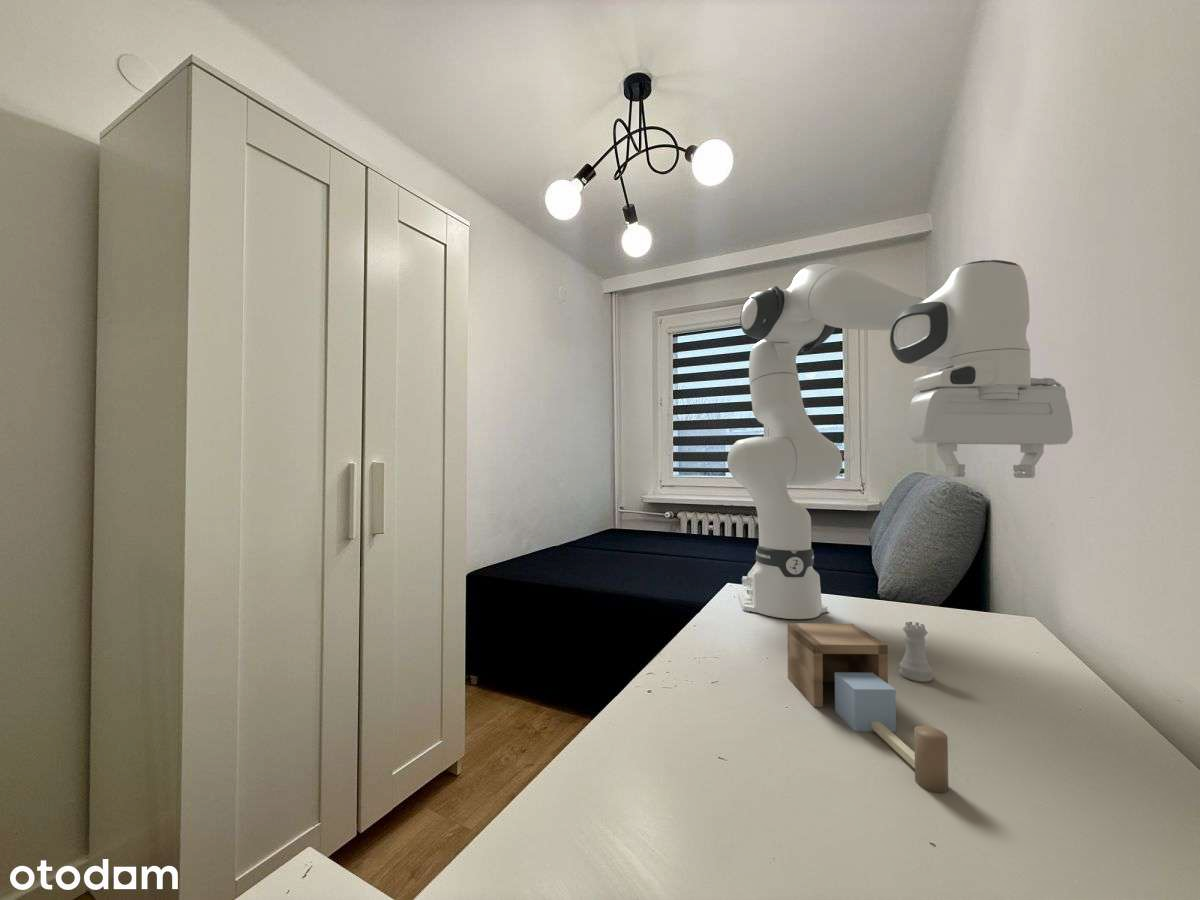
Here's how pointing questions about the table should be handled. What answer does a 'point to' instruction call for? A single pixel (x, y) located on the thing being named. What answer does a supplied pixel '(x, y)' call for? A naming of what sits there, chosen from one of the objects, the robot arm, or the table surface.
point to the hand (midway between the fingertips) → (989, 477)
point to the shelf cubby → (831, 655)
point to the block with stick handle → (891, 726)
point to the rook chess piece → (915, 654)
